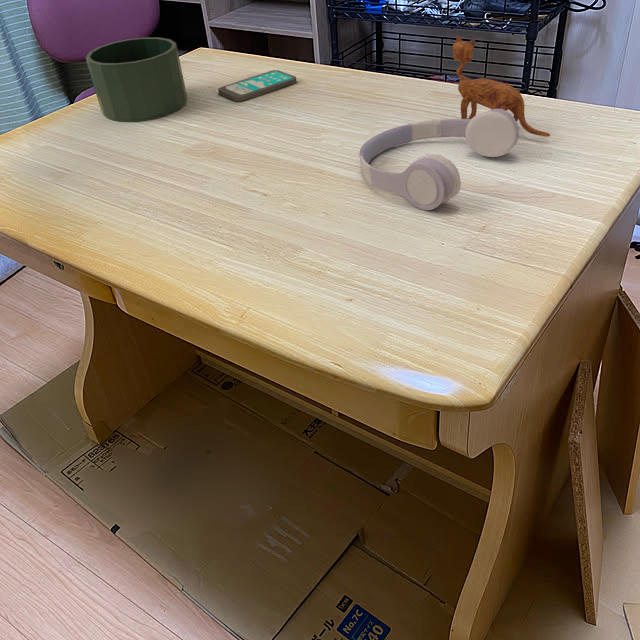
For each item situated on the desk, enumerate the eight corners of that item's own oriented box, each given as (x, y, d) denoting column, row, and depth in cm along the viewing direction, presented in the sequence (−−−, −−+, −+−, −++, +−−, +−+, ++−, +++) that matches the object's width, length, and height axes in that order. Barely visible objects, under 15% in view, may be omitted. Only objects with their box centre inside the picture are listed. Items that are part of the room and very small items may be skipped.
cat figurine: (557, 136, 99) (573, 45, 90) (539, 151, 95) (554, 58, 87) (458, 114, 109) (464, 30, 100) (438, 127, 105) (442, 41, 96)
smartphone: (214, 87, 125) (274, 68, 132) (215, 92, 126) (275, 73, 133) (238, 97, 120) (299, 77, 127) (238, 102, 121) (299, 81, 127)
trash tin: (114, 129, 115) (98, 70, 108) (94, 103, 127) (77, 49, 120) (199, 107, 121) (187, 50, 114) (171, 85, 132) (160, 32, 126)
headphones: (524, 154, 94) (412, 135, 106) (527, 107, 90) (410, 93, 101) (448, 217, 82) (330, 189, 93) (448, 167, 77) (324, 143, 89)
